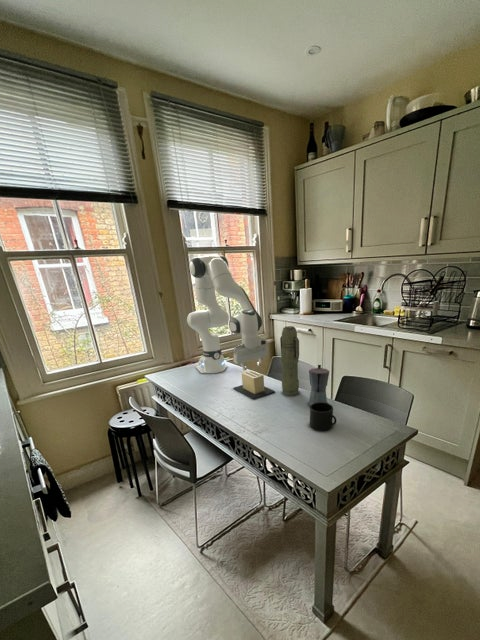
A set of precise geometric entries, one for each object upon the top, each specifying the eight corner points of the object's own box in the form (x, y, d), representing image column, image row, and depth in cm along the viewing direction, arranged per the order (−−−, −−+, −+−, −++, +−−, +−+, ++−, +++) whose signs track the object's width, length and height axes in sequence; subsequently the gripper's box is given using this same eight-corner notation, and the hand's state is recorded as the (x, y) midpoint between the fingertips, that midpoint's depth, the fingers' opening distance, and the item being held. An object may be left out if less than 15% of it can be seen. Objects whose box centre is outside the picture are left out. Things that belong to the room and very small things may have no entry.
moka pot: (327, 398, 160) (328, 360, 152) (329, 412, 146) (331, 371, 138) (308, 398, 161) (308, 360, 153) (308, 412, 147) (309, 371, 139)
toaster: (264, 390, 171) (263, 375, 167) (254, 394, 168) (253, 378, 164) (250, 384, 181) (249, 369, 177) (241, 387, 178) (240, 372, 174)
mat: (233, 389, 178) (233, 387, 178) (253, 382, 185) (253, 381, 185) (253, 399, 163) (253, 398, 163) (274, 392, 171) (274, 391, 170)
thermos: (287, 387, 176) (285, 324, 162) (304, 392, 169) (304, 326, 154) (276, 392, 170) (274, 327, 156) (294, 398, 163) (293, 330, 148)
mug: (329, 436, 127) (330, 416, 123) (305, 427, 134) (305, 408, 131) (341, 426, 133) (342, 407, 129) (318, 418, 141) (318, 400, 137)
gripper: (236, 347, 156) (238, 374, 161) (269, 340, 166) (270, 365, 172) (230, 345, 160) (232, 370, 166) (262, 338, 171) (263, 362, 177)
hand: (252, 367), depth 169 cm, fingers open, 8 cm apart
